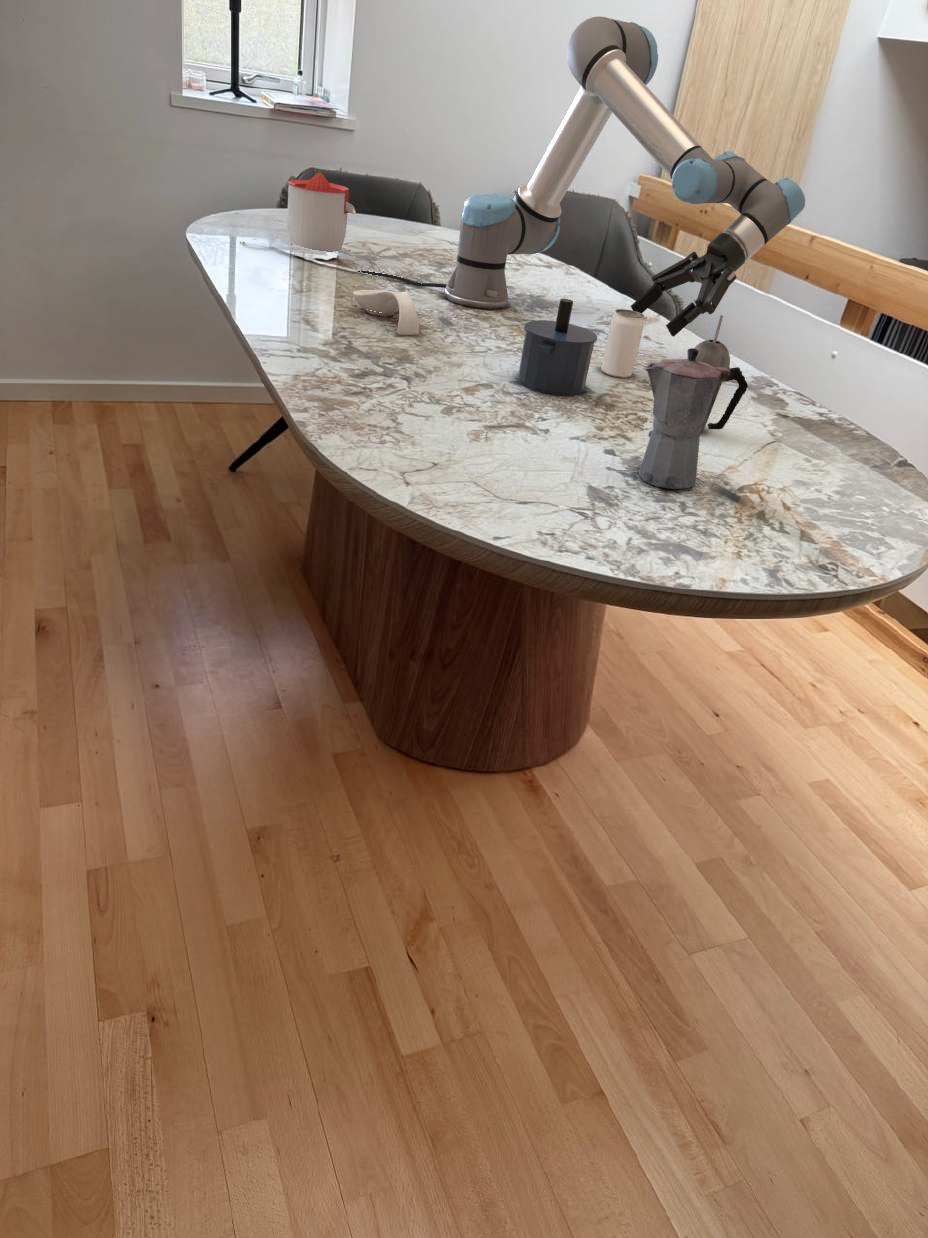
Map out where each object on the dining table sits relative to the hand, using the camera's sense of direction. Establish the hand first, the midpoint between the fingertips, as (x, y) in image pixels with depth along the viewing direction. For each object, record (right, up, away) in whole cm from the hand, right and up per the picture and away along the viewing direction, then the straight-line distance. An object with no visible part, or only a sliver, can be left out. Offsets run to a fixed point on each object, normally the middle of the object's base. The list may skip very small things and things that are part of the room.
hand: (651, 321), depth 185 cm
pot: (-21, -15, -9) cm, 27 cm away
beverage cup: (+3, -25, -20) cm, 32 cm away
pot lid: (-20, -7, -14) cm, 25 cm away
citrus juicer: (-75, +35, +58) cm, 101 cm away
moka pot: (-6, -38, -42) cm, 57 cm away
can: (-6, -10, +4) cm, 12 cm away
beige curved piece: (-53, +5, +14) cm, 55 cm away
